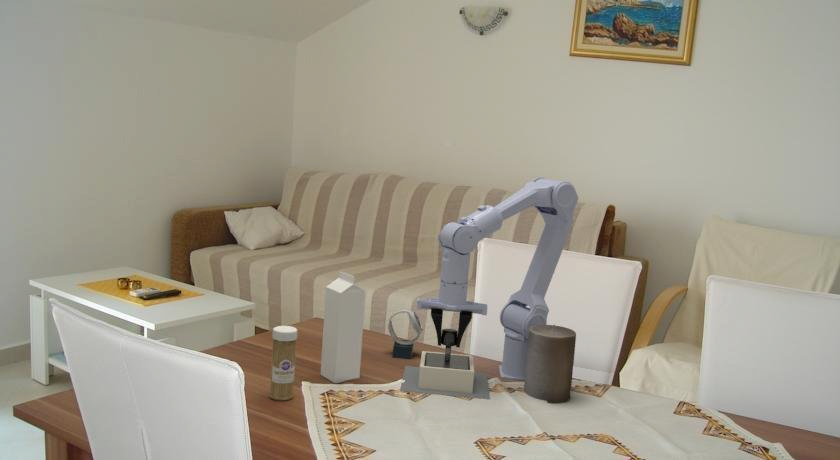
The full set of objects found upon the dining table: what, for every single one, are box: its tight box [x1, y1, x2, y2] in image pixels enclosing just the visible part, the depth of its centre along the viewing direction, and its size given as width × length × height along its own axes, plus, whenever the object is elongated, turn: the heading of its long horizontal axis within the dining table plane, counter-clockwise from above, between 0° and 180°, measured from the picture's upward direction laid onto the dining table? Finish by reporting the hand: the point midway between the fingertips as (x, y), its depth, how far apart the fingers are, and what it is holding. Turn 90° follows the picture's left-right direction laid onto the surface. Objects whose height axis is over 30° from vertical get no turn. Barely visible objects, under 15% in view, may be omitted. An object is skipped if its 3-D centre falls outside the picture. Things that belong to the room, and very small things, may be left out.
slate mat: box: [399, 365, 491, 400], centre depth 154 cm, size 18×16×1 cm
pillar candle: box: [523, 324, 577, 403], centre depth 152 cm, size 10×10×15 cm
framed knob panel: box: [418, 350, 475, 393], centre depth 154 cm, size 11×11×4 cm
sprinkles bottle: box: [269, 325, 298, 401], centre depth 139 cm, size 5×5×14 cm
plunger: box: [426, 328, 468, 370], centre depth 153 cm, size 9×9×7 cm
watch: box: [387, 308, 424, 360], centre depth 170 cm, size 6×8×11 cm
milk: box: [320, 270, 366, 384], centre depth 152 cm, size 6×6×22 cm
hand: (448, 345), depth 153 cm, fingers closed on plunger, 3 cm apart
